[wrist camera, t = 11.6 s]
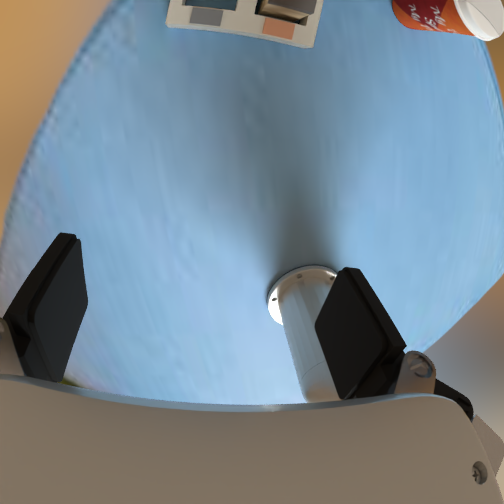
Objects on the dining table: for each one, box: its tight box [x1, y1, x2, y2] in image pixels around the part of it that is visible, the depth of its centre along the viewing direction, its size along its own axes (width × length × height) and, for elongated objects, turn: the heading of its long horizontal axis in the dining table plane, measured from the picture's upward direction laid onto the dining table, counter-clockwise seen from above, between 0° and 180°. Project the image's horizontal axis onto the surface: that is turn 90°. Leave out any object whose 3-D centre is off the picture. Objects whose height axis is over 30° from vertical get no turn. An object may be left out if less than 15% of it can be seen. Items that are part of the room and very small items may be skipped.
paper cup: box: [392, 0, 504, 41], centre depth 19 cm, size 8×8×14 cm
